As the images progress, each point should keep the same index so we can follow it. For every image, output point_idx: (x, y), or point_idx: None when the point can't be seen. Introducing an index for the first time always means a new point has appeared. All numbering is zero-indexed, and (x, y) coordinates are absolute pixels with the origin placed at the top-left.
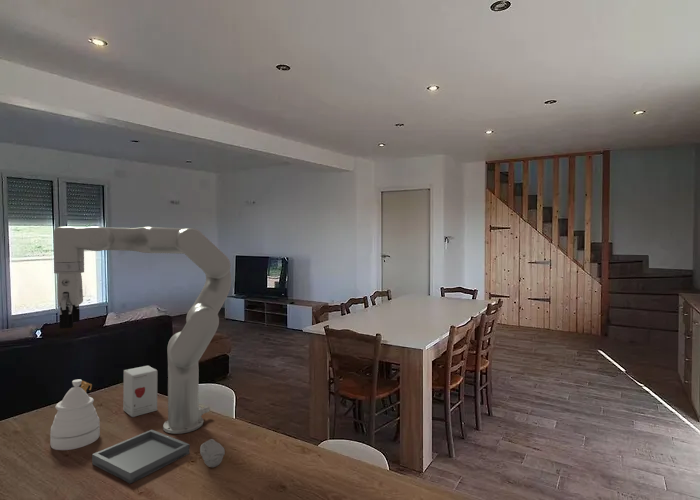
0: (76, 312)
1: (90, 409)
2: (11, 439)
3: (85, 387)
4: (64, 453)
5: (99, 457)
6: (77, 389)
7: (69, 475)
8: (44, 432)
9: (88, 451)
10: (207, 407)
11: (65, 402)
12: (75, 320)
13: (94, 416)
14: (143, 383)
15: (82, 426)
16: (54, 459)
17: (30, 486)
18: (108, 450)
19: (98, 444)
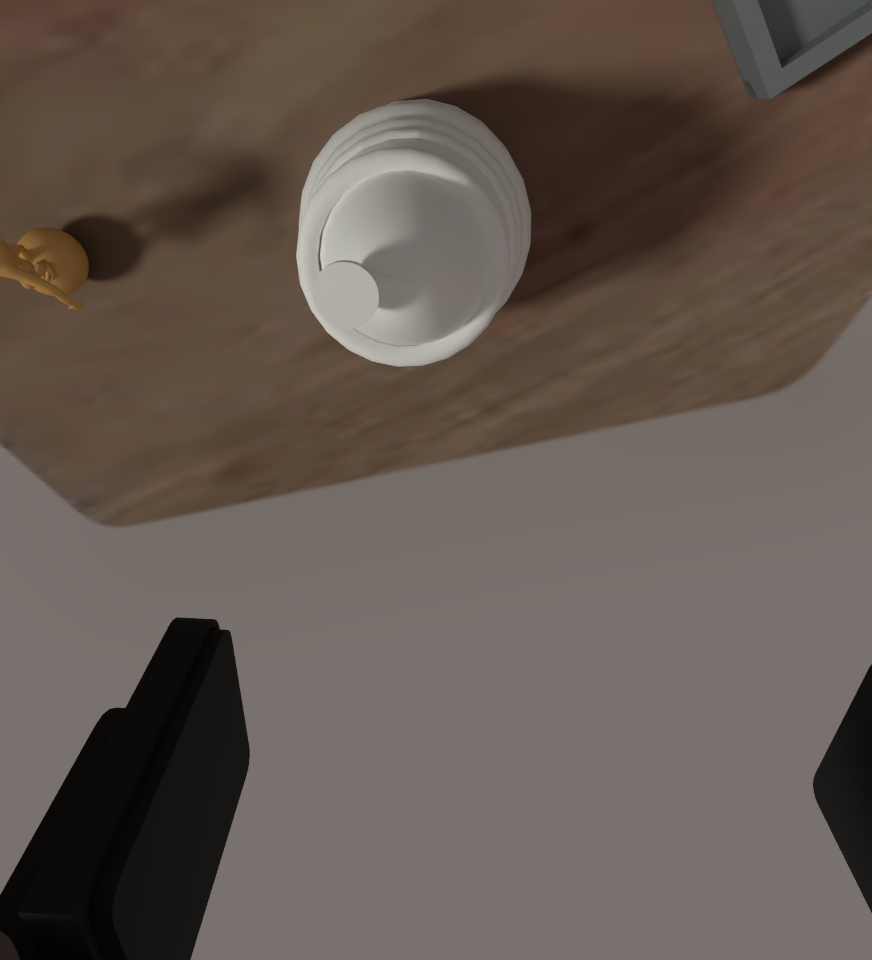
0: (162, 843)
1: (454, 158)
2: (311, 472)
3: (6, 247)
4: (554, 246)
5: (835, 53)
6: (428, 270)
7: (798, 190)
8: (278, 369)
9: (590, 136)
10: None
11: (461, 318)
12: (229, 682)
13: (450, 129)
14: None
15: (517, 188)
16: (596, 278)
17: (792, 322)
18: (759, 11)
19: (529, 92)
